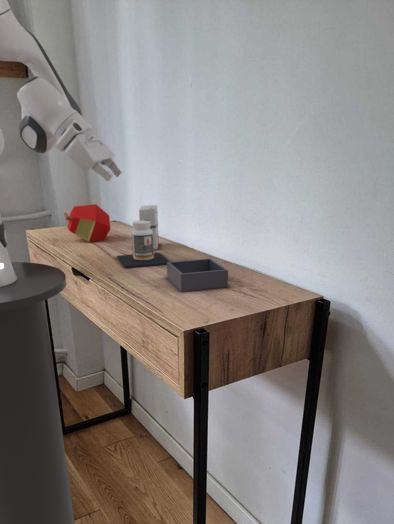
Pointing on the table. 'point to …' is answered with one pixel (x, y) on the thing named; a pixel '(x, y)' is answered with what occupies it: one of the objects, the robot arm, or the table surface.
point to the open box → (197, 274)
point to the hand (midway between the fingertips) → (115, 177)
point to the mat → (131, 262)
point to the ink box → (151, 215)
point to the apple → (89, 222)
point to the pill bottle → (142, 241)
